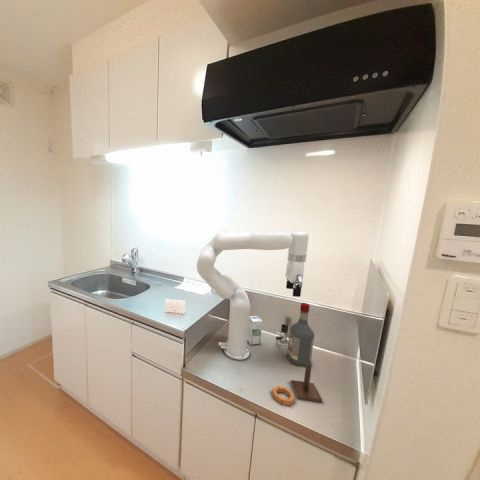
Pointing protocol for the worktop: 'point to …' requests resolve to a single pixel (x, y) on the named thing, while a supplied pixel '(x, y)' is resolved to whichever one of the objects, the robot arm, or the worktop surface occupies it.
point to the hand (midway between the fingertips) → (292, 292)
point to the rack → (306, 387)
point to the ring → (280, 399)
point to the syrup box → (254, 330)
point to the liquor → (301, 339)
